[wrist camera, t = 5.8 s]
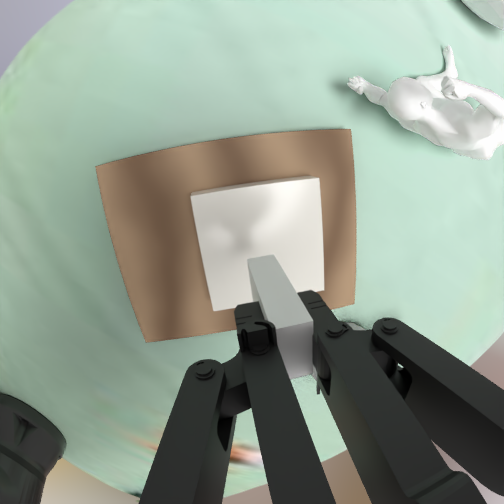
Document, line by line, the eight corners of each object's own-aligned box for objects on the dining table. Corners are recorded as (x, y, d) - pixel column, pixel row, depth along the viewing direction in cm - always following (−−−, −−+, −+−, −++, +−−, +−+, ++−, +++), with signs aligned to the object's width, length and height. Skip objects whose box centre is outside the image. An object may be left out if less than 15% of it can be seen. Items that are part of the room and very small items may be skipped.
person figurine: (528, 48, 10) (483, 83, 8) (538, 161, 17) (485, 265, 15) (428, 41, 20) (325, 80, 19) (451, 135, 28) (369, 206, 26)
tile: (213, 311, 22) (324, 290, 23) (190, 196, 19) (319, 177, 19) (212, 299, 24) (316, 279, 25) (191, 191, 20) (310, 175, 21)
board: (147, 335, 25) (145, 342, 24) (100, 165, 20) (95, 166, 18) (349, 297, 27) (354, 303, 26) (344, 129, 21) (350, 129, 20)
